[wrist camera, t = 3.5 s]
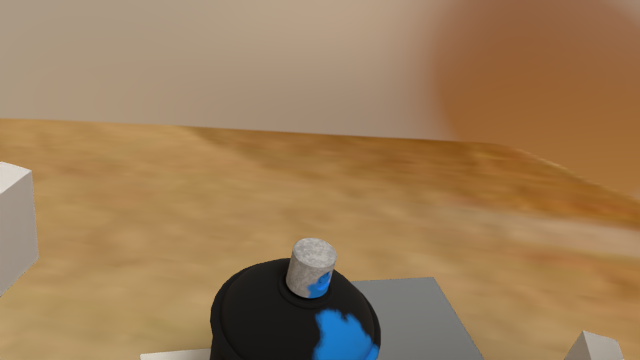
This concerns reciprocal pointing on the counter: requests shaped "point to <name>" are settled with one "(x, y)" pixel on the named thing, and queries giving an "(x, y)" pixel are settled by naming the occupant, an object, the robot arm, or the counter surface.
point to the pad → (417, 321)
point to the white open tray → (179, 355)
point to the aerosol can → (294, 311)
